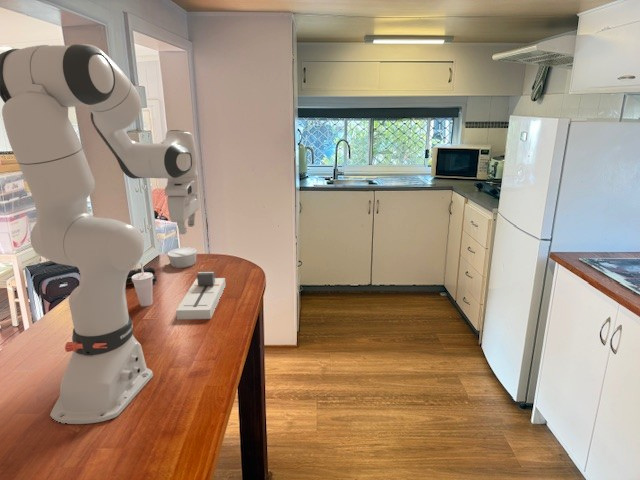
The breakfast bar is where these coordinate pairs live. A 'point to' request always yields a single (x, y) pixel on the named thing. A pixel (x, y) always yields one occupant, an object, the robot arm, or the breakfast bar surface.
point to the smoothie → (143, 286)
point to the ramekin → (182, 257)
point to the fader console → (201, 300)
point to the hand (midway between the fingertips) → (187, 229)
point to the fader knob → (206, 278)
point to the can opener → (136, 271)
